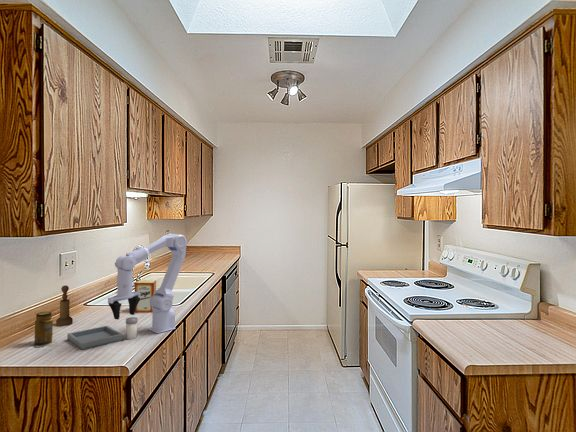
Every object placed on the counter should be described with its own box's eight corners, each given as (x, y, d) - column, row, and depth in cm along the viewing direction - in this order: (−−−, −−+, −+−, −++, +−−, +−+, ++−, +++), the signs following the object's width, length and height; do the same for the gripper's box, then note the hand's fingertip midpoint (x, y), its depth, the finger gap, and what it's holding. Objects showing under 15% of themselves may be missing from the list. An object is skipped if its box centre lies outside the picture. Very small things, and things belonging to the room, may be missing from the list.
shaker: (134, 335, 165) (134, 316, 165) (139, 337, 162) (139, 318, 162) (123, 337, 162) (123, 318, 162) (128, 340, 159) (128, 321, 159)
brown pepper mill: (57, 327, 173) (58, 287, 172) (54, 323, 178) (55, 285, 177) (74, 324, 177) (74, 286, 177) (70, 321, 182) (71, 283, 182)
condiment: (50, 338, 158) (51, 309, 158) (57, 343, 153) (57, 314, 152) (30, 342, 153) (30, 312, 153) (35, 348, 147) (36, 317, 147)
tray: (107, 331, 169) (107, 325, 169) (123, 340, 158) (123, 334, 158) (67, 339, 157) (67, 333, 157) (81, 350, 147) (81, 343, 147)
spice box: (155, 309, 207) (156, 279, 207) (153, 312, 201) (153, 282, 201) (137, 309, 206) (138, 279, 206) (134, 312, 200) (134, 282, 199)
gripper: (132, 280, 168) (132, 311, 168) (103, 286, 155) (102, 319, 155) (143, 282, 164) (143, 313, 165) (114, 288, 152) (114, 322, 152)
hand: (124, 316), depth 160 cm, fingers open, 7 cm apart
